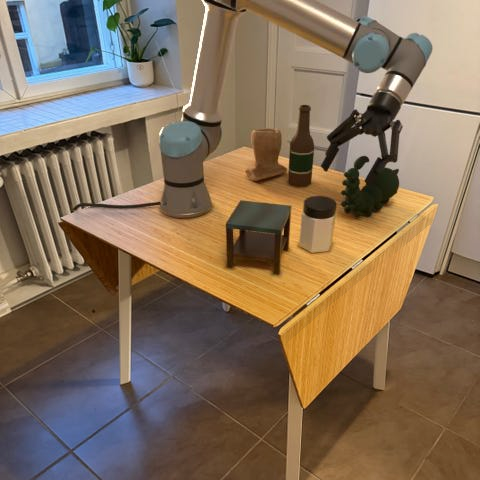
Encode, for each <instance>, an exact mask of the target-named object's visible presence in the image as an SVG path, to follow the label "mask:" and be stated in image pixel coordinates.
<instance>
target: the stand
mask: <svg viewBox="0 0 480 480" xmlns="http://www.w3.org/2000/svg"><path fill="white" fill-rule="evenodd" d="M291 219H292V205H290V204H289V205H288V204H279V203H270V202H260V201H252V200H242V199H241V200H239V201H238V203H237V205H236V206H235V208H234V210H233V211H232V213H231V214H230V216H229V218H228V219H227V221H226V222H225V239H226V241H225V242H226V243H225V244H226V245H225V246H226V268H227V269H233V268H234V266H235V258H238V259H239V258H240V259H247V260H254V261H261V262H268V263H273V270H272V271H273V273H272V274H273V275H277V276H279V275H280V273H281V264H282V263H281V261H282V253H283V251H284V252H285V251H286V252H288V251H289V249H290V235H291V222H292V221H291ZM234 230H239V233H238V237H237V238H236V240H235V241H234Z"/></svg>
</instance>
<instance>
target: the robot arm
mask: <svg viewBox="0 0 480 480" xmlns="http://www.w3.org/2000/svg"><path fill="white" fill-rule="evenodd" d="M201 1H202V3H203V5H204V7H205V12H204V16H203V17H204V18H203V24H202V29H201V34H200V40H199V46H198V51H197V58H196V64H195V69H194V75H193V81H192V86H191V93H190V99H189V102H188V103H187V104H186V105H185V104H184V106H183V108H182V114H181V120H179V121H178V120H177V121H174V122H172V123H168V124H166V125H164V126H163V127H162V128H161V130H160V131H159V136H158V138H159V140H158V141H159V143H158V146H159V151H160V158H161V165H162V176H163V189H162V193H161V199H160V201H155V202H147V203H146V202H145V203H138V204H109V203H91V202H80V203H78V204H76V205H74V207H73V208H72V211H77V210H78V209H80V208H81V207H91V208H105V209H106V208H107V209H137V208H138V209H139V208H147V207H155V206H160V210H161V212H162V213H163V214H164V215H165V216H168V217H171V218H175V219H194V218H198V217H200V216H204V215H205V214H207V213H208V212H210V211H211V209H212V205H213V204H212V198H211V195H210V193H209V191H208V188H207V185H206V182H205V170H204V161H206V160H207V158H209V156H210V155H211V154H212V153H214V152H215V151H216V150H217V148H218V147H219V145H220V143H221V140H222V136H223V129H222V121H223V115H222V114H221V112H220V105H221V101H222V97H223V93H224V92H223V91H224V87H225V83H226V79H227V78H226V77H227V74H228V70H229V64H230V60H231V55H232V50H233V46H234V41H235V36H236V31H237V26H238V21H239V19H240V17H242V16H243V15H245V14H246V13H247V11H248V12H249V13H252V14H254V15H256V16H258V17H260V18H262V19H264V20H266V21H268V22H270V23H272V24H274V25H275V26H277V27H280V28H282V29H284V30H286V31H288V32H290V33H292V34H294V35H296V36H297V37H299V38H302V39H304V40H306V41H308V42H310V43H312V44H314V45H316V46H318V47H320V48H321V49H324V50H326V51H328V52H330V53H331V54H334V55H335V56H338V57H340V58H341V59H344V60H345V61H347V62H349V63H350V64H353V66H354V67H355V69H357V70H358V71H359V72H361V73H363V74H372V73H375V72H377V71H379V69H383V70H385V71H386V72H385V74H384V75H383V78H382V79H381V81H380V83H379V84H378V86H377V88H376V90H375V92H374V93H373V95H372V97H371V99H370V100H369V102H368V105H367V107H366V110H365V111H364V112H363V113H362V112H359V111H358V109H353V110H352V112H351V113H350V115H349V116H348V117H347V118H346V119H344V120H343V121H342V122H341V123H340V124H339V125H338V126H337V127H336V128H334V129H333V130H332V131H331V132H330V133H329V134H328V135H327V136H326V139H327V140H328V142H329V146H328V148H327V149H326V151H325V153H324V154H325V157H324V159H323V161H322V163H321V164H320V167H321V168H322V170H323V171H324V172H328V171H329V169H330V167H331V165H332V164H333V161H334V160H335V158H336V157H337V154H338V153H339V152H340V146H343V145H344V144H345V143H347V142H349V141H350V140H353V138H356V137H358V136H360V135H361V136H362V135H363V134H365V135H366V136H369V135H370V136H372V137H374V138H375V137H377V139H378V145H379V150H380V157H379V156H377V158H376V159H375V160H374V163H373V165H372V166H371V169H370V170H369V172H368V174H367V175H366V177H365V179H364V180H363V182H364V184H365V185H366V184H367V186H369V187H370V186H371V185H372V183H373V181H374V179H375V178H376V176H377V174H381V173H382V171H383V169H384V168H386V166H387V164H388V163H394V164H396V163H397V162H398V159H399V158H398V157H399V145H400V134H401V132H402V129H403V124H402V122H401V120H400V119H396V117H397V115H398V114H399V112H400V110H401V108H402V106H403V105H404V103H405V101H406V99H407V98H408V96H409V94H410V93H411V91H412V89H413V88H414V86H415V84H416V82H417V81H418V79H419V78H420V75H421V74H422V72H423V71H424V69H425V67H426V65H427V63H428V61H429V59H430V57H431V55H432V53H433V43H432V41H431V40H430V39H429V38H428V37H427V36H426V35H424V34H419V33H417V32H411V33H409V34H408V35H406V37H403V36H400V35H398V34H397V33H395V32H393V31H392V30H390V29H389V28H387V27H386V26H384V25H383V24H381V23H379V22H378V20H376V19H373V18H371V17H369V16H367V15H364V16H362V17H361V18H360V19H359V21H357V20H355V19H353V18H352V17H350V16H348V15H346V14H344V13H342V12H340V11H338V10H336V9H334V8H332V7H330V6H328V5H327V4H324V3H322V2H321V1H319V0H201ZM395 119H396V120H395ZM389 129H390V130H391V134H390V145H389V147H390V148H389V149H388V145H387V144H388V143H387V138H386V131H387V130H389ZM91 311H92V312H91V313H93V314H95V313H96V310H95V309H91Z"/></svg>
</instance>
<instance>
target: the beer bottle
mask: <svg viewBox="0 0 480 480" xmlns="http://www.w3.org/2000/svg"><path fill="white" fill-rule="evenodd" d="M298 110H299V111H298V118H297V127H296V132H295V134H293V137H292V138H291V141H290V143H289V154H288V155H289V156H288V171H287V172H288V173H287V174H288V175H287V180H288V183H289V185H290V186H293V187H296V188H303V187H308V186H309V185H310V184H311V183H312V178H313V167H314V155H315V143H314V139H313V137H312V135H311V129H310V125H311V122H310V119H311V117H310V116H311V110H312V109H311V106H310V105H309V104H301V105H299V106H298Z"/></svg>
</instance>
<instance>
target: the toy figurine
mask: <svg viewBox="0 0 480 480" xmlns="http://www.w3.org/2000/svg"><path fill="white" fill-rule="evenodd" d="M369 162H370V158H369V157H368V156H367V155H361V156H359V157H357V158H356V159H355V161H354V163H353V167H351V168H349V169H347V171H345V172H344V173H343V177H344V178H346V179H344V180H343V181H342V182H341V185H342V186H343V187H344V189H343V190H341V191H340V195H341V196H342V197H343V196H344V200H342V201H341V202H340V206H341V207H343V212H344V213H345V214H351V212H352V213H354V216H355V218H361V217H362V216H363V215H364V216H366V217H371V215H373V211H372V209H373V210H374V211H376V212H379V211H381V210H382V208H383V205H385V204H388V203H389V202H390V199H392V198H393V197H394V196H395V195H396V194H398V190H399V188H400V179H399V175H398V174H399V171H400V169H399V168H396V169H392V168H389V167H385V168H384V169H383V171H382V173H381V174H377V176H376V178H375V179H374V181H373V183H372V185H371V186H370V187H369V186H367V184H366V183H365V185H364V186H362V187H361V188H360V184H361V180H360V171H359V170H361V169H362V168H363V167H364V166H365V165H366V163H369Z"/></svg>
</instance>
